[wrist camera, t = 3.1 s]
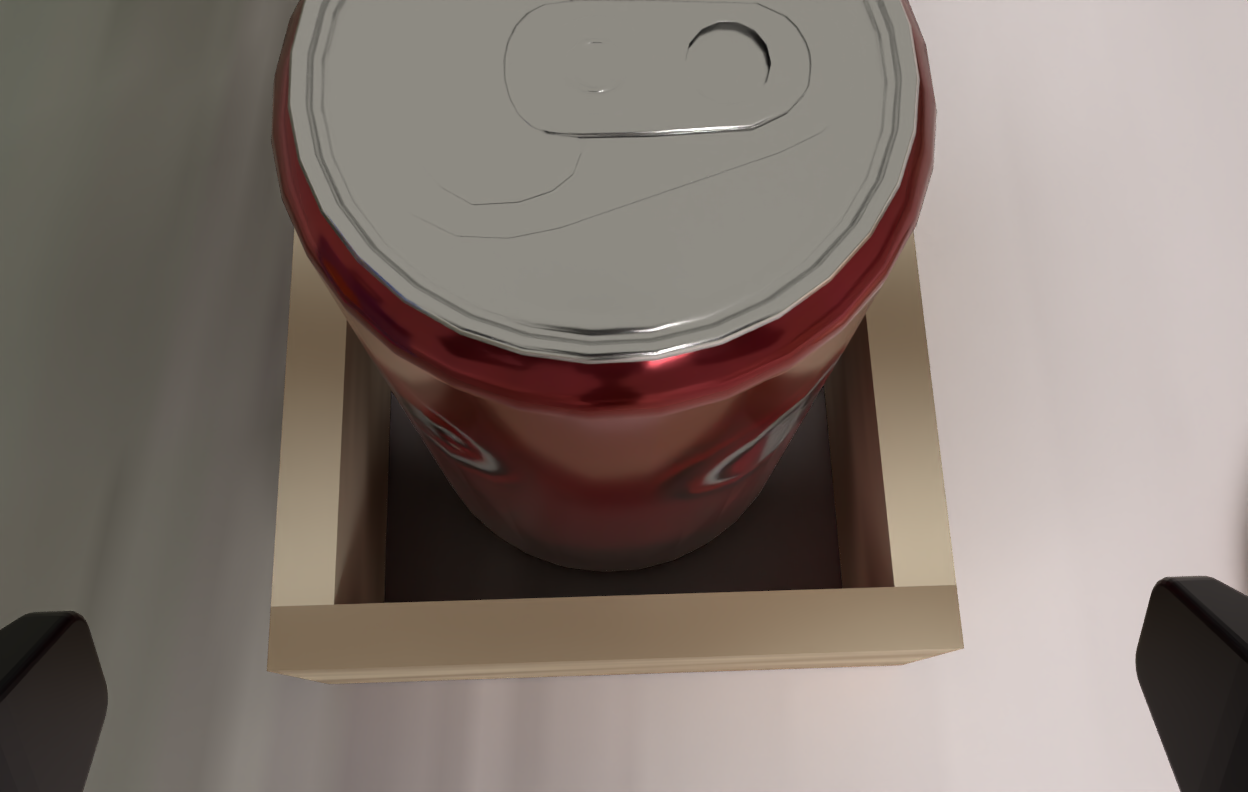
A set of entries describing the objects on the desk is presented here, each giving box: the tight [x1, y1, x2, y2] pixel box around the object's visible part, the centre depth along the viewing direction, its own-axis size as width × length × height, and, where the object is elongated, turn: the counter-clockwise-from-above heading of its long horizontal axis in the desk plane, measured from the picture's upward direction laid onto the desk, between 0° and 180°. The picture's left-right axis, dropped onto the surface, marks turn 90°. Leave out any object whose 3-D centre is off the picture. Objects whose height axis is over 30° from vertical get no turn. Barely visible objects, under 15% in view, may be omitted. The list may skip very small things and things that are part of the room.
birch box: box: [267, 228, 964, 684], centre depth 21 cm, size 11×11×4 cm
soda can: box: [271, 0, 937, 572], centre depth 17 cm, size 7×7×12 cm
